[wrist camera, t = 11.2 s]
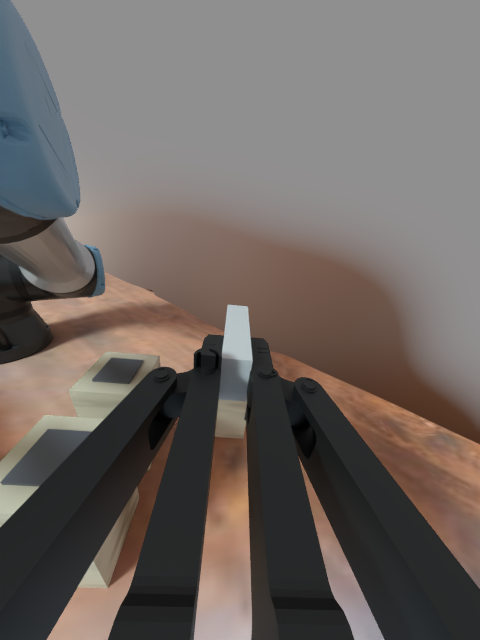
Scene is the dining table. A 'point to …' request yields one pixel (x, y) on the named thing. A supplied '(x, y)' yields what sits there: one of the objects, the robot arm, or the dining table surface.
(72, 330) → the dining table surface
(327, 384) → the dining table surface
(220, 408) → the plain block
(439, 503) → the dining table surface
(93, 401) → the marked block 1
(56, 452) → the marked block 2
